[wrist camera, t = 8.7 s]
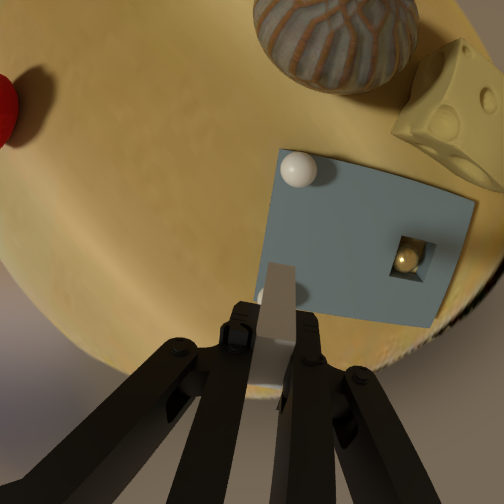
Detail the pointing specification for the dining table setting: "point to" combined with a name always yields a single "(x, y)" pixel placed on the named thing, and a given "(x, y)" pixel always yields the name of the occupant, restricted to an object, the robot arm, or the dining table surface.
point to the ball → (405, 258)
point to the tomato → (7, 109)
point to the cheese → (458, 114)
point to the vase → (338, 41)
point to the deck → (364, 242)
